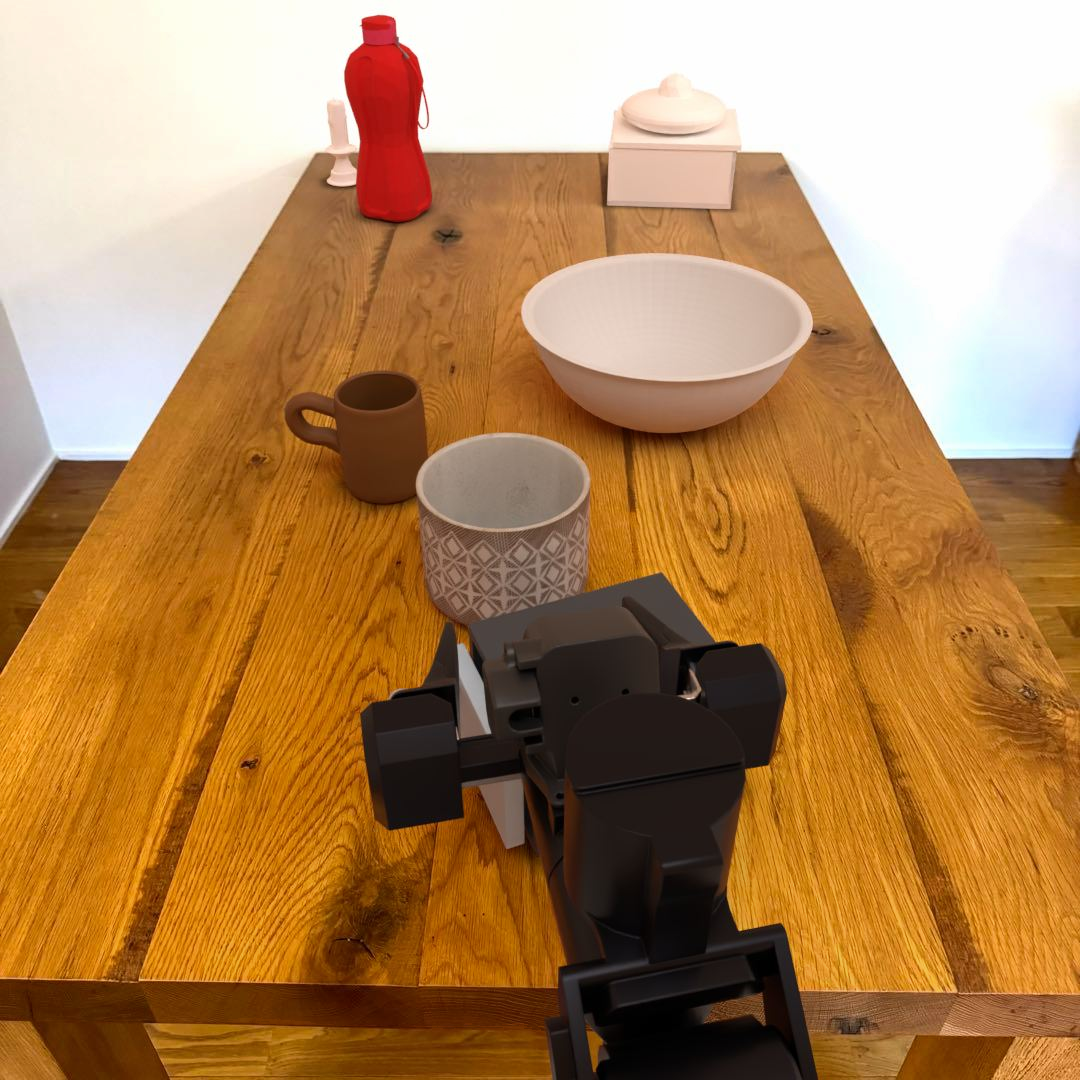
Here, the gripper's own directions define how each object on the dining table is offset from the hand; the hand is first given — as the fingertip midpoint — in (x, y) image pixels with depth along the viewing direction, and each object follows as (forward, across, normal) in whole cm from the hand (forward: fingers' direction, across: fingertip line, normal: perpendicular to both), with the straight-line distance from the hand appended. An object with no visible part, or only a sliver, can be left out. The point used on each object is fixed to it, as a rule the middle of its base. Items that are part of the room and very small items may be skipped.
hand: (538, 614), depth 53 cm
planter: (+23, -2, +18) cm, 29 cm away
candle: (+121, +5, +17) cm, 122 cm away
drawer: (+4, -1, +16) cm, 17 cm away
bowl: (+48, -22, +18) cm, 55 cm away
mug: (+40, +8, +18) cm, 44 cm away
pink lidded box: (+108, -42, +17) cm, 117 cm away
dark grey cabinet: (+5, -5, +17) cm, 19 cm away
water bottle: (+106, -2, +17) cm, 107 cm away
